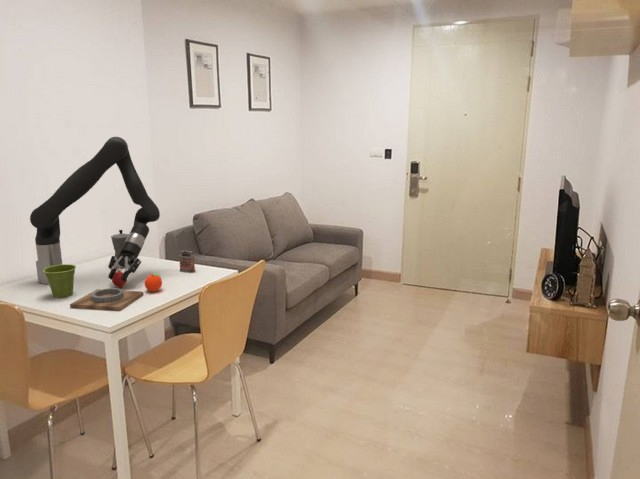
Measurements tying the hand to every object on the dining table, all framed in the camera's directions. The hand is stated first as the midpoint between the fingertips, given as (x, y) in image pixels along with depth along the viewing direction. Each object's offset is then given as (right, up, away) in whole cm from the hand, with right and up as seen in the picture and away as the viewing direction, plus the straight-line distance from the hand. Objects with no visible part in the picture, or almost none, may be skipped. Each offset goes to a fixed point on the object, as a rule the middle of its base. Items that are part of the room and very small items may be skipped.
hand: (116, 279), depth 210 cm
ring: (+2, -6, -14) cm, 15 cm away
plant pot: (-19, -6, -6) cm, 21 cm away
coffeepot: (-10, +3, +35) cm, 36 cm away
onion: (0, -4, +3) cm, 5 cm away
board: (+2, -7, -13) cm, 15 cm away
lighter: (+22, +1, +27) cm, 35 cm away
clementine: (+16, -5, -1) cm, 17 cm away
